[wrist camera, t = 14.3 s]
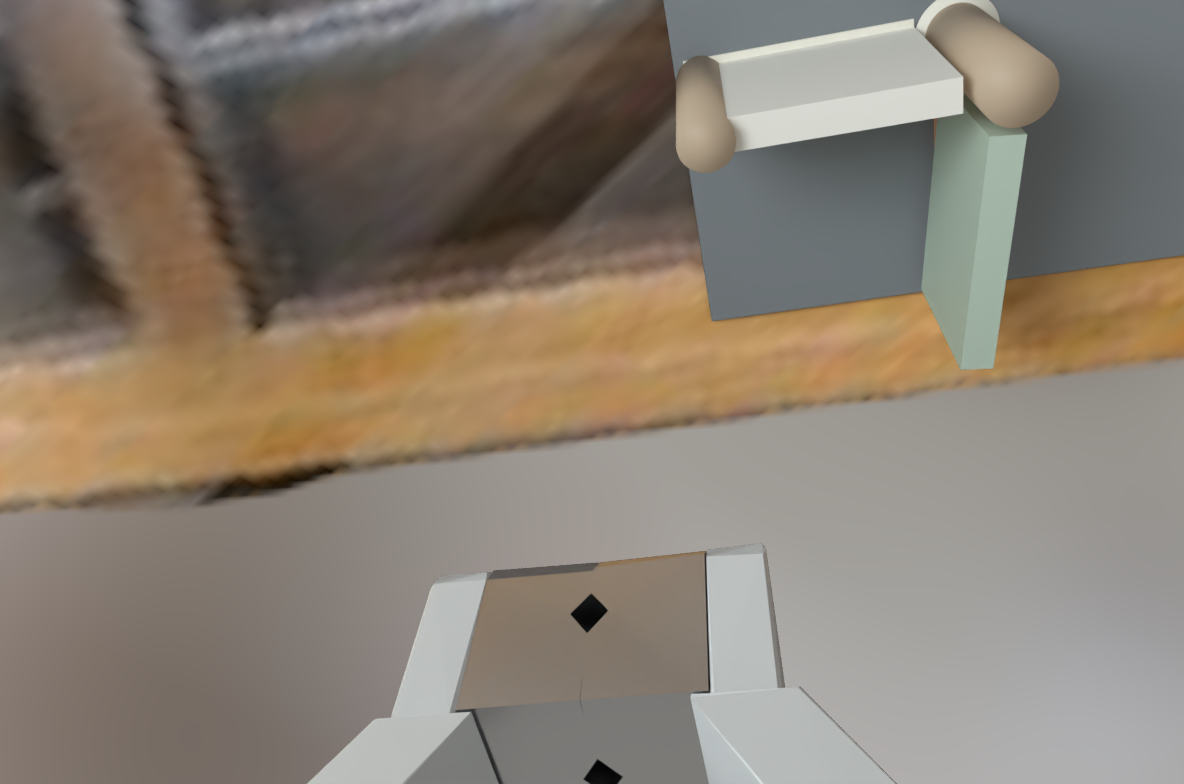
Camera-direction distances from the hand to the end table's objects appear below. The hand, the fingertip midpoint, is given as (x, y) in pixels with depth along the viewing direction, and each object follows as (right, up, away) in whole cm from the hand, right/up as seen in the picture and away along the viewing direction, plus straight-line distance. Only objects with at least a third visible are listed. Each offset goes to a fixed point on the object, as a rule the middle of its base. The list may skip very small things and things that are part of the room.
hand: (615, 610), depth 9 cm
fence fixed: (+9, +15, +30) cm, 35 cm away
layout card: (+15, +13, +31) cm, 37 cm away
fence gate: (+15, +10, +31) cm, 36 cm away
